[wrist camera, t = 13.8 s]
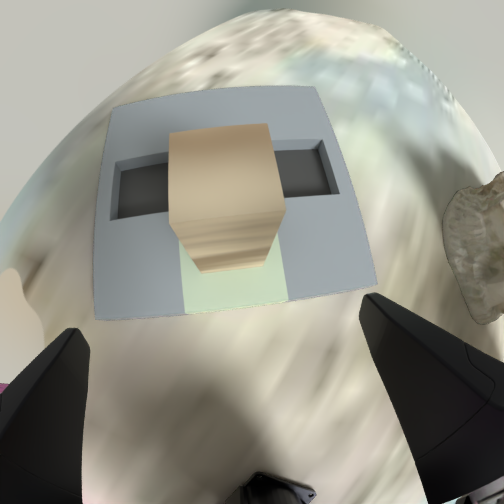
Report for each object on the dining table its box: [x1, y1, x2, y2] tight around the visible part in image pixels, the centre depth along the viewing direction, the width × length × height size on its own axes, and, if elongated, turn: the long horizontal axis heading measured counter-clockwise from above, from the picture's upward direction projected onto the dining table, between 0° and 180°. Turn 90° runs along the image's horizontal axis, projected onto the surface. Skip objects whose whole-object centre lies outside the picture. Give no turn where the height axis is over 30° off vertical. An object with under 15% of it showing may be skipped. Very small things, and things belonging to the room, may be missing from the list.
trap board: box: [93, 86, 378, 321], centre depth 23 cm, size 22×22×2 cm
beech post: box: [168, 123, 286, 274], centre depth 16 cm, size 4×4×10 cm
